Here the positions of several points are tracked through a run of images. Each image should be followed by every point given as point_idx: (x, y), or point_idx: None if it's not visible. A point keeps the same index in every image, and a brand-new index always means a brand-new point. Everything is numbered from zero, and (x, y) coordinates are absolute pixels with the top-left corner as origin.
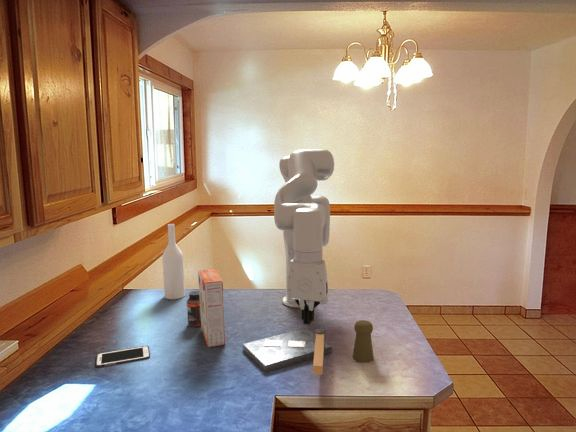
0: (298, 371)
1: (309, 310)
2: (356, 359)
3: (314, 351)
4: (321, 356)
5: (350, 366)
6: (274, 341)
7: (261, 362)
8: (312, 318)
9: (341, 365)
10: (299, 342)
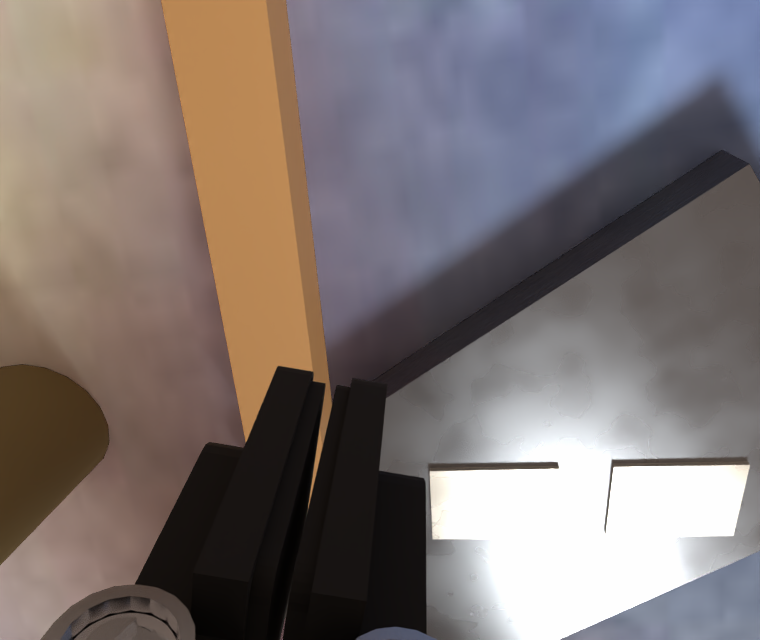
0: (451, 201)
1: (192, 602)
2: (63, 387)
3: (297, 259)
4: (208, 164)
5: (93, 314)
6: (666, 522)
7: None
8: (195, 466)
9: (155, 320)
10: (475, 522)
